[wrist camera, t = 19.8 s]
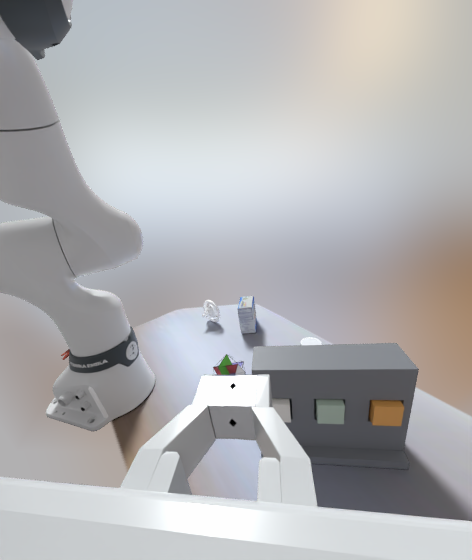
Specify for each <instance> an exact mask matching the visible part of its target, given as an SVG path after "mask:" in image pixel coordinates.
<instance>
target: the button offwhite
mask: <svg viewBox="0 0 472 560" xmlns="http://www.w3.org/2000/svg"><path fill="white" fill-rule="evenodd" d="M272 405H273V408H274V409H275V410H276V412H277V413H278V415H279V416H280V417H281V419H282V420H283V422H290V423H291V415H290V401H289V399H284V398H272Z"/></svg>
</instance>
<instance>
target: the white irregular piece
mask: <svg viewBox="0 0 472 560" xmlns="http://www.w3.org/2000/svg"><path fill="white" fill-rule="evenodd" d="M207 303H210V305H209V306H207V307H206V305H207ZM203 308H204V314H203V315H202V317H208V319H209V320H211V321H212V322H218V321H219V320H220V312H219V309H218V307H217V306H216V304H215V303H214V302H212V301H211V300H206V301H205V302H204V305H203ZM215 316H216V317H217V318H216V319H213V318H214V317H215Z"/></svg>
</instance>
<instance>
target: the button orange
mask: <svg viewBox="0 0 472 560" xmlns="http://www.w3.org/2000/svg"><path fill="white" fill-rule="evenodd" d="M403 412H404V406H403V404H402V403H401V401H400V400H370V405H369V415H368V416H369V418H370V420H371V423H372V425H377V426H401V424H402V418H403Z"/></svg>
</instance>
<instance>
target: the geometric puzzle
mask: <svg viewBox="0 0 472 560" xmlns="http://www.w3.org/2000/svg"><path fill="white" fill-rule="evenodd" d="M224 357H225V358H224ZM224 357H223V358H224V359H223V358H222V359H223V361H222V362H221V364H220V365H219V367H218V366H217V367H213V369H214V370H215V371H216V373H217V375H246V374H245V373H246V372H245V371H244V370H243V369H242V368H243V366H242V368H241V365H242V363H244V361H243V362H236V363H231V361H230V359H229V358H228V356H227V354H226V355H225V356H224ZM231 357H232V356H231ZM231 357H230V358H231ZM222 359H221V360H222ZM231 359H232V358H231ZM221 360H220V361H221ZM220 361H219V362H220ZM240 361H241V360H240ZM219 362H218V363H219ZM218 363H217V364H218ZM217 364H216V365H217ZM216 365H215V366H216ZM244 368H245V367H244Z"/></svg>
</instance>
